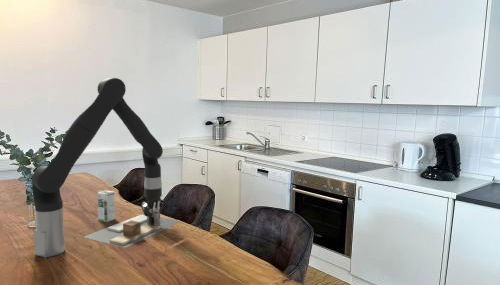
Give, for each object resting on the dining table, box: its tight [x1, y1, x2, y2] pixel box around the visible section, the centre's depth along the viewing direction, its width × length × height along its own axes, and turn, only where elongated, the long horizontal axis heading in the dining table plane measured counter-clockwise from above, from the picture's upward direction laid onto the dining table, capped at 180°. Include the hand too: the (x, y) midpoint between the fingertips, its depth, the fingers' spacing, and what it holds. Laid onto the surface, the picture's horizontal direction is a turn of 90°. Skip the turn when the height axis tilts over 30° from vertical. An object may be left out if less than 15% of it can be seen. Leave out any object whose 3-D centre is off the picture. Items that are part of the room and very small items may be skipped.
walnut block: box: [123, 220, 141, 237], centre depth 156 cm, size 5×5×5 cm
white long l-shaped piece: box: [108, 201, 152, 232], centre depth 173 cm, size 24×7×7 cm, turn 154°
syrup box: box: [97, 190, 116, 223], centre depth 178 cm, size 6×6×14 cm
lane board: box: [83, 214, 182, 249], centre depth 167 cm, size 36×24×1 cm, turn 154°
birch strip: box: [109, 212, 162, 245], centre depth 159 cm, size 24×7×7 cm, turn 154°
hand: (153, 223), depth 169 cm, fingers closed on birch strip, 2 cm apart
